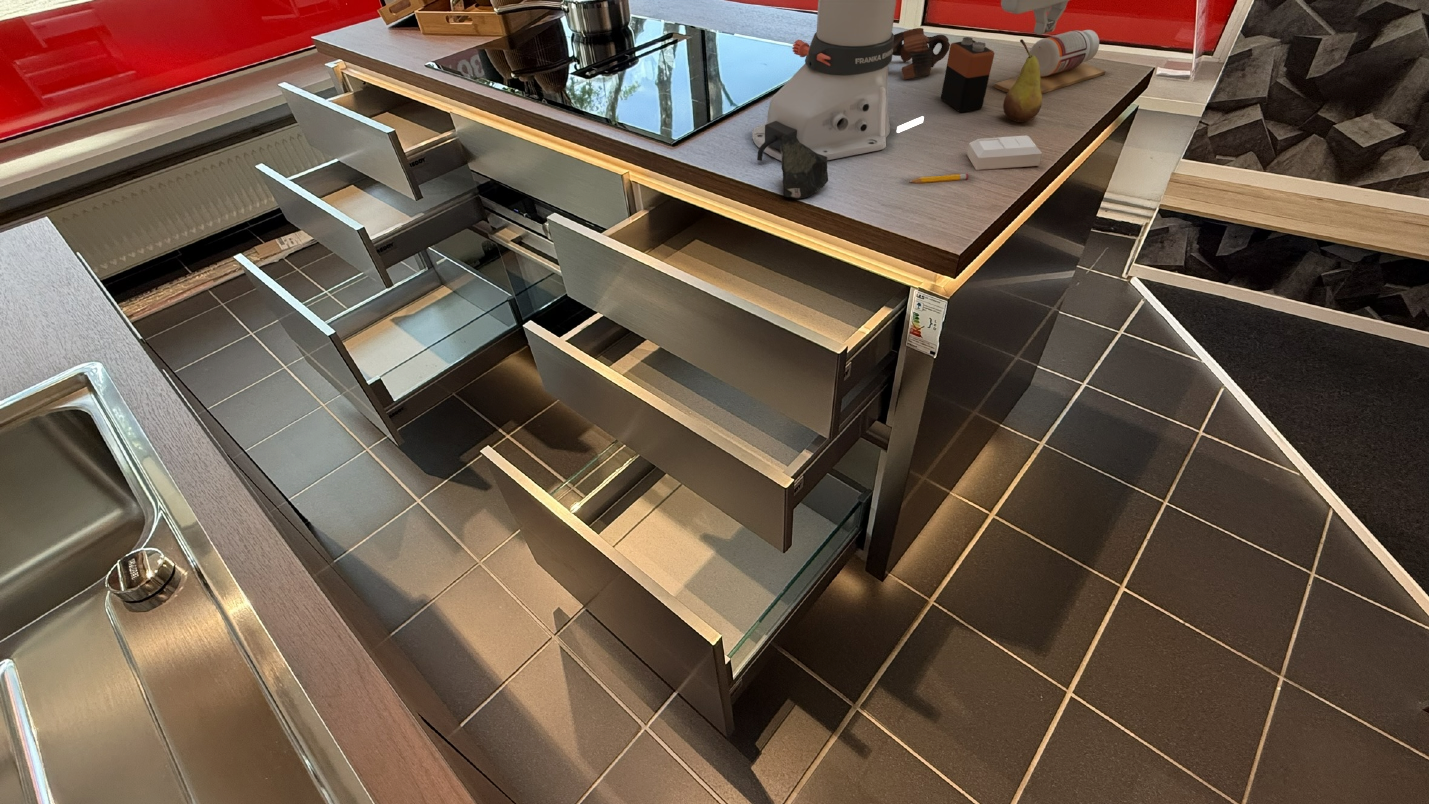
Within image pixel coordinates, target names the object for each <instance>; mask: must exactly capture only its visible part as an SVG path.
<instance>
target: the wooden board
mask: <svg viewBox="0 0 1429 804" xmlns="http://www.w3.org/2000/svg"><path fill="white" fill-rule="evenodd" d="M1106 72H1107V70H1104V69H1102V68H1099V67H1096V66H1093V65H1090V64H1087V63H1084V62H1083V63H1082V64H1081V65H1079V66H1078V67H1075V68H1072V69H1069V70H1065V71H1062V72H1059V73H1055V74H1052V75H1049V76H1045V77H1040V90H1041V94H1042V95H1043V94H1045V93H1049V92H1052V91H1055V90H1059V89H1062V88H1065V87H1068V86H1071V85H1075V84H1078V83H1081V82H1085V81H1088V80H1091V79H1094V78H1097V77H1100V76H1104V75H1106ZM1018 77H1019V75H1018V76H1014V77H1012V78H1008V79H1005V80H1001V81H998V82H995V83H994V84H993V88H996V89H998V90H1000V91H1003V92H1004V93H1006V94H1007V93H1008V91H1009V90H1010V89H1011V88H1012V86H1013V85H1014V84H1015V82H1016V81H1017V79H1018Z"/></svg>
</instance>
